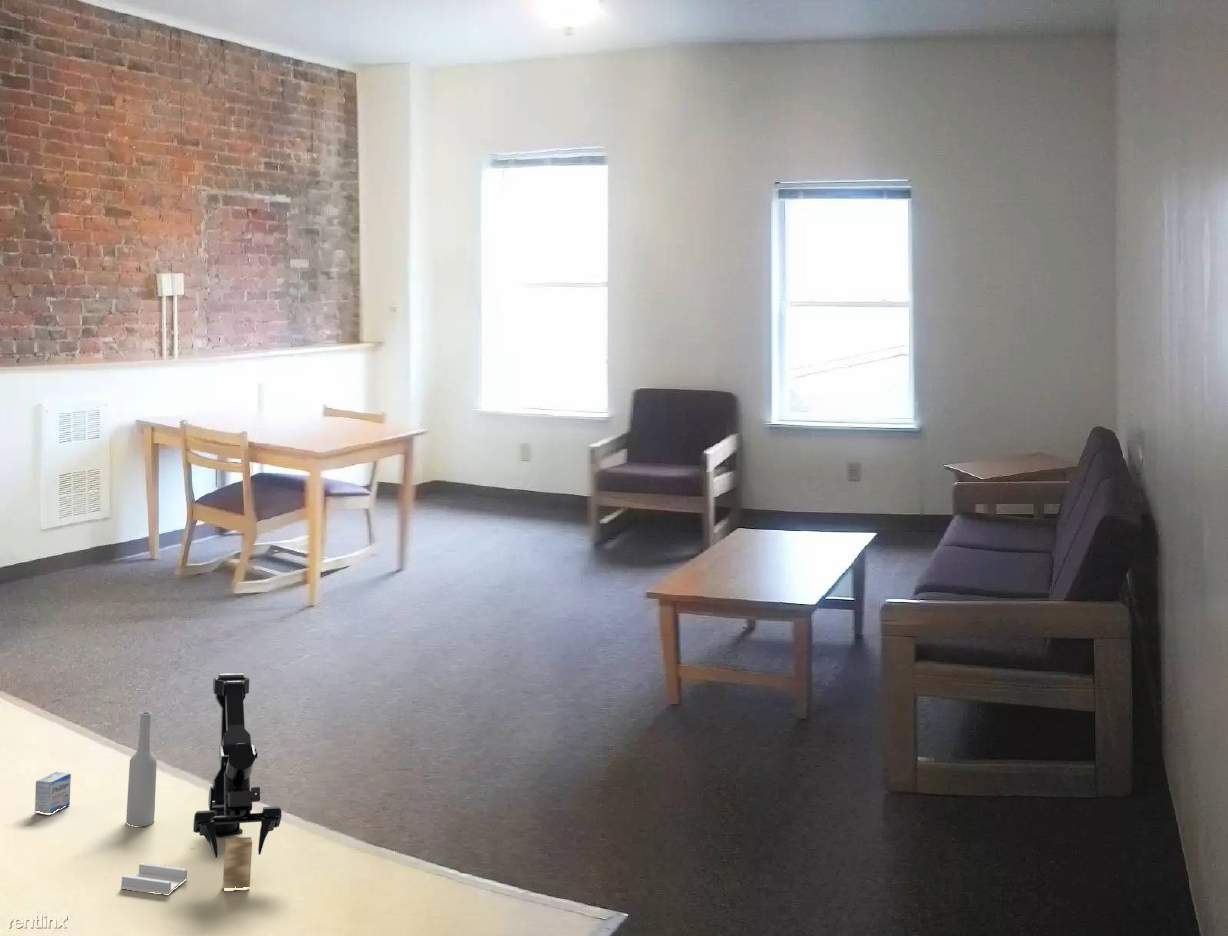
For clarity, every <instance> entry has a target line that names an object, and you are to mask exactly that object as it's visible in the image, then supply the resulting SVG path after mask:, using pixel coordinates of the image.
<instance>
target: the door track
mask: <svg viewBox="0 0 1228 936" xmlns="http://www.w3.org/2000/svg"><path fill="white" fill-rule="evenodd" d="M138 865H139V866H138V873H137V874H135V875H128V874H124V875H122V876H121V886H120V890H122V889H128V890H132V891H131V892H135V891H140V892H139V893H142V892H155V893H161V894H169V893H170V892H171V891H172V890H173V889H174V888H176V887H177V886H178V885H179V884H180V883H181V882H183V881H184V880H185V879H187V880H188V868H183V867H177V866H169V865H162V864H155V863H147V862H140V863H139V864H138ZM128 890H127V891H128Z"/></svg>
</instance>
